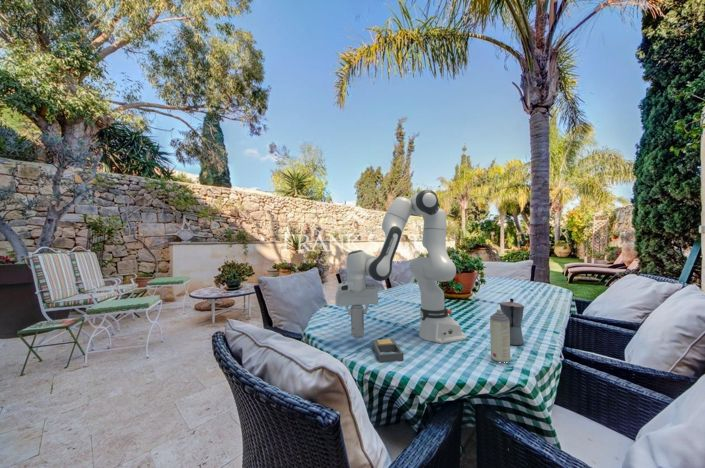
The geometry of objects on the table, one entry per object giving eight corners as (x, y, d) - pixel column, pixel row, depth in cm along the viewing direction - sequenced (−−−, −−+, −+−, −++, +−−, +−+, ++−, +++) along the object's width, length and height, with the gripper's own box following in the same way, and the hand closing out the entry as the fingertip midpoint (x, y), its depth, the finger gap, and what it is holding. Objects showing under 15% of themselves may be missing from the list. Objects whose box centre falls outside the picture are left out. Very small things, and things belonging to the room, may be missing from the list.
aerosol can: (498, 354, 114) (497, 306, 114) (514, 361, 107) (513, 310, 107) (487, 357, 111) (485, 308, 111) (502, 365, 105) (501, 313, 105)
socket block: (393, 345, 126) (393, 337, 126) (403, 360, 111) (403, 352, 111) (372, 346, 125) (372, 339, 125) (379, 362, 110) (379, 354, 110)
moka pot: (522, 337, 130) (521, 296, 130) (527, 351, 116) (526, 304, 116) (500, 335, 134) (498, 294, 134) (502, 347, 120) (501, 302, 120)
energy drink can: (351, 333, 132) (350, 302, 131) (363, 333, 132) (363, 302, 131) (351, 338, 126) (350, 306, 125) (364, 338, 126) (363, 306, 125)
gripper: (376, 282, 133) (377, 310, 133) (334, 284, 131) (335, 313, 131) (379, 285, 127) (380, 314, 127) (335, 287, 124) (336, 317, 124)
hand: (357, 314), depth 129 cm, fingers closed on energy drink can, 6 cm apart
